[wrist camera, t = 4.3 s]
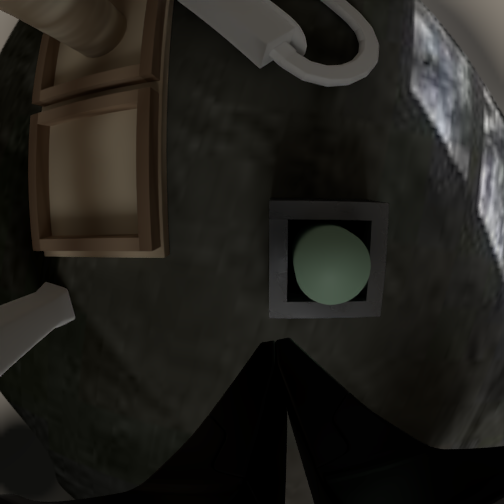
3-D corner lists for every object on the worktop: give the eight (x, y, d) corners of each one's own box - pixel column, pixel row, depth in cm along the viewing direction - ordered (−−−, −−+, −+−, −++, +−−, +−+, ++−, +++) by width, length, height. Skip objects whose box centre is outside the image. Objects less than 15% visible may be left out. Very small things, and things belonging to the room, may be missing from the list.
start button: (353, 220, 18) (372, 229, 14) (350, 281, 19) (367, 304, 15) (291, 220, 18) (295, 228, 14) (290, 281, 19) (294, 304, 15)
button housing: (367, 199, 19) (388, 203, 15) (362, 293, 20) (380, 316, 16) (270, 198, 19) (269, 200, 15) (270, 293, 21) (269, 318, 17)
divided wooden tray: (176, -25, 16) (167, -43, 14) (169, 254, 21) (156, 263, 18) (66, 7, 17) (51, -4, 15) (52, 253, 21) (32, 260, 19)
